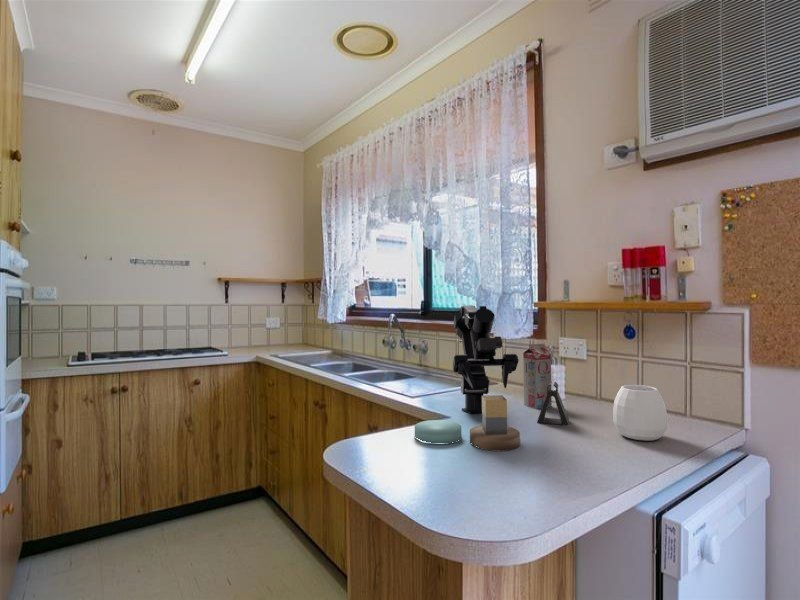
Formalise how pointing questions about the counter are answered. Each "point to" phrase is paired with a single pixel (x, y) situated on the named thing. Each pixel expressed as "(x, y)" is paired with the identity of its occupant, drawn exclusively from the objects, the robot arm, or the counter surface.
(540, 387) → the juice carton
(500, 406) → the block
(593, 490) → the counter surface
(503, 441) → the stand
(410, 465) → the counter surface
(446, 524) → the counter surface
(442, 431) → the stand
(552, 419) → the phone stand
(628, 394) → the white faceted vase
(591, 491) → the counter surface
